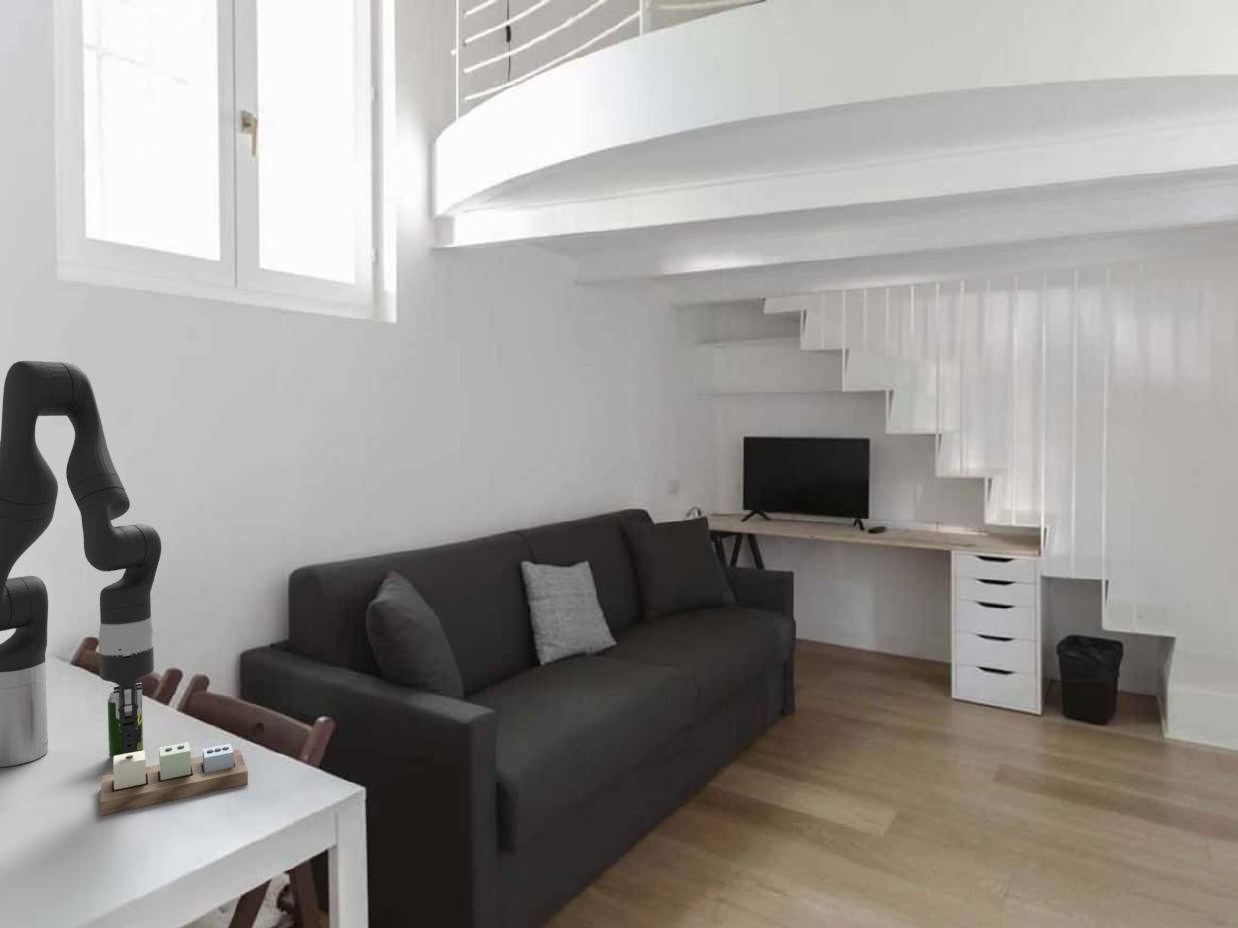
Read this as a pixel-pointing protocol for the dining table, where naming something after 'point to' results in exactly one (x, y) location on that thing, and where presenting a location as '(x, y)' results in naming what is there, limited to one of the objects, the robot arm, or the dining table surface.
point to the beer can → (115, 733)
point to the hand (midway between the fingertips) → (129, 750)
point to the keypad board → (170, 785)
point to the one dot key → (129, 769)
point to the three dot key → (218, 758)
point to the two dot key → (175, 760)
